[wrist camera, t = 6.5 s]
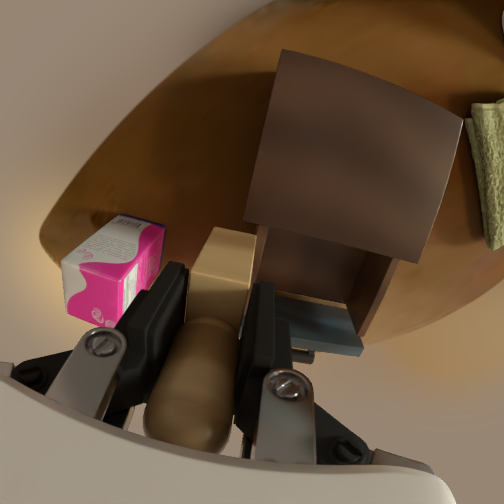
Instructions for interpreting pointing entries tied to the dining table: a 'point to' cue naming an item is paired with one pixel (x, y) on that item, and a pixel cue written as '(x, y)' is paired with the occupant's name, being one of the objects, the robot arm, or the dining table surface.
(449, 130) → the cabinet
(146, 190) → the dining table surface
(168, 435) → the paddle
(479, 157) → the washcloth
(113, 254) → the supplement box
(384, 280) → the drawer
